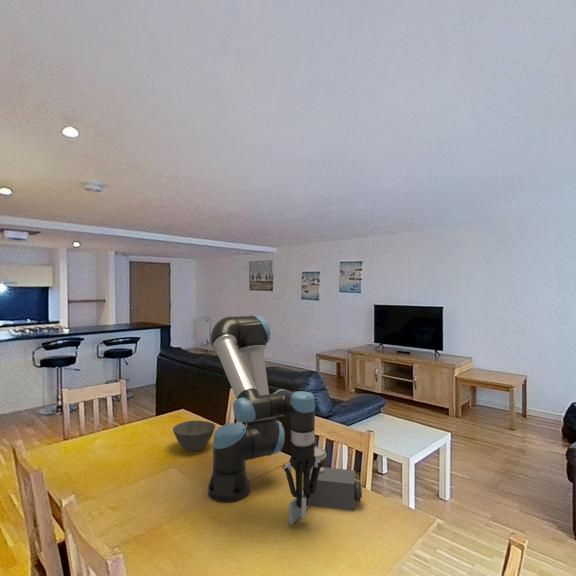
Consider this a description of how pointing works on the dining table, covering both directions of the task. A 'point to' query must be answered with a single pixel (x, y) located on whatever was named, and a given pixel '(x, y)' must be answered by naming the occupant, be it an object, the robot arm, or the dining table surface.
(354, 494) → the camera block
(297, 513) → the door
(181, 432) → the bowl
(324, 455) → the disposable coffee cup
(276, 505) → the dining table surface
